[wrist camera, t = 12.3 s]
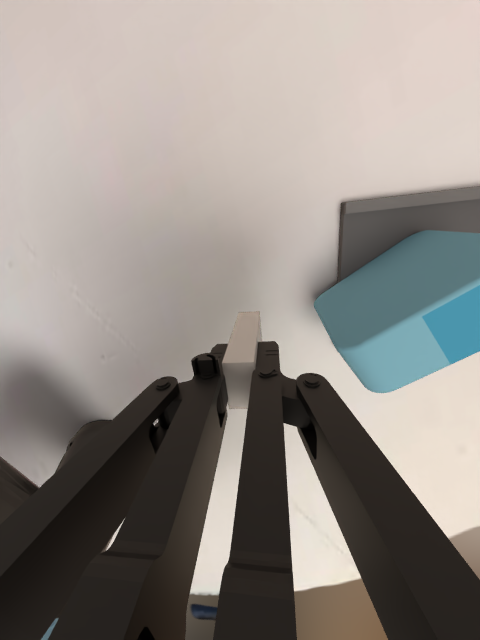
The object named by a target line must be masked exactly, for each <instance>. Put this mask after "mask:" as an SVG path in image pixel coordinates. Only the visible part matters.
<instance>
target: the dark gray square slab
mask: <svg viewBox="0 0 480 640" xmlns="http://www.w3.org/2000/svg"><path fill="white" fill-rule="evenodd" d="M425 230H435V231H451V232H466V233H480V186H478V187H469V188H461V189H453V190H444V191H436V192H427V193H419V194H411V195H402V196H394V197H385V198H377V199H369V200H360V201H352V202H345V203H341V215H340V236H339V257H338V277H337V283H339V282H340V281H342V280H343V279H345V278H346V277H348V276H349V275H351V274H352V273H354V272H355V271H357V270H358V269H360V268H361V267H363V266H365V265H366V264H368V263H369V262H371V261H372V260H374V259H375V258H377V257H378V256H380V255H381V254H383V253H384V252H386V251H387V250H389V249H390V248H392V247H393V246H395V245H396V244H398V243H399V242H401V241H402V240H404V239H405V238H407V237H409V236H411V235H413V234H415V233H418V232H421V231H425Z"/></svg>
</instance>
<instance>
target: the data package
mask: <svg viewBox="0 0 480 640" xmlns="http://www.w3.org/2000/svg"><path fill="white" fill-rule="evenodd" d="M314 307H315V309H316V311H317V313H318V315H319V317H320V319H321V321H322V323H323V325H324V327H325V329H326V331H327V333H328V334H329V336H330V338H331V340H332V342H333V344H334V346H335V348H336V349H337V351H338V352H339V353H340V355H341V356H342V357H343V359H344V360H345V361H346V363H347V364H348V365H349V367H350V368H351V369H352V371H353V372H354V373H355V375H356V376H357V377H358V379H359V380H360V381H361V383H362V384H363V385H364V387H365V388H367V389H368V390H370V391H372V392H376V393H387V392H391V391H394V390H397V389H399V388H401V387H403V386H405V385H407V384H410V383H412V382H414V381H416V380H418V379H420V378H423V377H425V376H427V375H429V374H431V373H433V372H436V371H438V370H440V369H442V368H444V367H446V366H449V365H451V364H453V363H455V362H457V361H459V360H462V359H464V358H466V357H468V356H470V355H472V354H475V353H477V352H479V351H480V233H466V232H451V231H435V230H425V231H421V232H418V233H415V234H413V235H411V236H409V237H407V238H405V239H404V240H402V241H401V242H399V243H398V244H396V245H395V246H393V247H392V248H390V249H389V250H387V251H386V252H384V253H383V254H381V255H380V256H378V257H377V258H375V259H374V260H372V261H371V262H369V263H368V264H366V265H365V266H363V267H361V268H360V269H358V270H357V271H355V272H354V273H352V274H351V275H349V276H348V277H346V278H345V279H343V280H342V281H340V282H339V283H337V284H336V285H334V286H333V287H331V288H330V289H328V290H327V291H325V292H324V293H322V294H321V295H320V296H319V297H318V298H317V299H316V301H315V302H314Z"/></svg>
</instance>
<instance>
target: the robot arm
mask: <svg viewBox="0 0 480 640" xmlns="http://www.w3.org/2000/svg"><path fill="white" fill-rule="evenodd" d="M191 362H192V367H193V371H194V377H193V379H192V380H190V381H187V382H182V383H178V381H177V379H176V378H174V377H162V378H160V379H157V380H156V381H154V382H153V383H152V384H150V385H149V386H148V387H147V388H146V389H145V390H144V391H143V392H142V393H141V394H140V395H139V396H138V397H137V398H135V399H134V400H133V401H132V402H131V403H130V404H129V405H128V406H127V407H126V408H125V409H124V410H123V411H122V412H120V413H119V414H118V415H117V416H116V417H115V418H114V419H113V420H112V421H94V422H91V423H88V424H86V425H85V426H83V427H82V428H81V429H80V430H79V431H78V432H77V434H76V435H75V436H74V437H73V438H72V439H71V441H70V442H69V444H68V447H67V450H66V453H65V454H64V456H63V458H62V460H61V462H60V464H59V466H58V468H57V470H56V472H55V474H54V475H53V476H52V477H51V478H50V479H49V480H47V481H46V482H45V483H44V484H43V485H42V486H41V487H40V488H39V487H38V486H37V485H36V484H34V483H33V482H32V481H30V480H29V479H28V478H27V477H25V476H24V475H23V474H22V473H20V472H19V471H18V470H17V469H15V468H14V467H13V466H12V465H10V464H9V463H8V462H7V461H5V460H4V459H3V458H2V457H0V640H185V634H186V610H187V603H188V598H189V593H190V589H191V584H192V579H193V575H194V570H195V565H196V561H197V556H198V551H199V547H200V542H201V537H202V533H203V528H204V523H205V519H206V514H207V509H208V505H209V500H210V495H211V490H212V486H213V481H214V476H215V472H216V467H217V462H218V458H219V453H220V448H221V444H222V439H223V434H224V430H225V425H226V420H227V409H226V406H227V402H228V405H229V409H248V411H247V419H246V428H245V436H244V444H243V452H242V460H241V469H240V477H239V485H238V493H237V501H236V510H235V518H234V526H233V534H232V542H231V550H230V557H229V561H228V563H227V565H226V566H225V568H224V572H223V576H222V581H221V587H220V594H219V601H218V608H217V615H216V623H215V630H214V637H213V640H297V637H296V618H295V602H294V586H293V572H292V558H291V541H290V525H289V508H288V492H287V475H286V459H285V442H284V426H283V423H286V424H289V425H293V426H296V427H297V429H298V432H299V435H300V437H301V439H302V442H303V444H304V446H305V448H306V451H307V453H308V455H309V458H310V460H311V462H312V465H313V467H314V469H315V472H316V474H317V476H318V478H319V481H320V483H321V485H322V488H323V490H324V492H325V495H326V497H327V499H328V502H329V504H330V506H331V508H332V511H333V513H334V515H335V518H336V520H337V522H338V525H339V527H340V529H341V532H342V534H343V536H344V539H345V541H346V543H347V545H348V548H349V550H350V552H351V555H352V557H353V559H354V562H355V564H356V566H357V569H358V571H359V573H360V575H361V578H362V580H363V582H364V585H365V587H366V589H367V592H368V594H369V596H370V599H371V601H372V603H373V605H374V608H375V610H376V612H377V615H378V617H379V619H380V622H381V624H382V626H383V628H384V631H385V633H386V635H387V638H388V640H480V580H479V578H478V577H477V576H476V574H475V573H474V572H473V571H472V569H471V568H470V567H469V565H468V564H467V563H466V561H465V560H464V559H463V557H462V556H461V555H460V554H459V552H458V551H457V550H456V548H455V547H454V546H453V544H452V543H451V542H450V540H449V539H448V538H447V536H446V535H445V534H444V533H443V531H442V530H441V529H440V527H439V526H438V525H437V523H436V522H435V521H434V519H433V518H432V517H431V516H430V514H429V513H428V512H427V510H426V509H425V508H424V506H423V505H422V504H421V502H420V501H419V500H418V499H417V497H416V496H415V495H414V493H413V492H412V491H411V489H410V488H409V487H408V485H407V484H406V483H405V482H404V480H403V479H402V478H401V476H400V475H399V474H398V472H397V471H396V470H395V468H394V467H393V466H392V465H391V463H390V462H389V461H388V459H387V458H386V457H385V455H384V454H383V453H382V451H381V450H380V449H379V448H378V446H377V445H376V444H375V442H374V441H373V440H372V438H371V437H370V436H369V434H368V433H367V432H366V431H365V429H364V428H363V427H362V425H361V424H360V423H359V421H358V420H357V419H356V417H355V416H354V415H353V414H352V412H351V411H350V410H349V408H348V407H347V406H346V404H345V403H344V402H343V400H342V399H341V398H340V396H339V395H338V394H337V393H336V391H335V390H334V389H333V387H332V386H331V385H330V383H329V382H328V381H327V380H326V379H325V378H324V377H323V376H321V375H319V374H314V373H305V374H302V375H300V376H299V377H297V380H295V379H291V378H288V377H286V376H284V375H283V374H282V373H281V371H280V363H279V347H278V344H277V343H276V342H275V341H270V342H262V335H261V323H260V311H258V312H240V313H239V314H238V316H237V319H236V322H235V325H234V328H233V331H232V334H231V337H230V340H229V343H228V344H217V345H216V346H215V347H213V348H212V350H211V353H205V354H200V355H198V356H196V357H194V358H193V359H192V360H191ZM157 418H158V421H159V422H158V423H157V424H156V425H155V426H154V425H153V423H154V422H155V420H156V419H157ZM124 519H125V520H124ZM123 520H124V522H123V524H122V526H121V528H120V530H119V532H118V534H117V536H116V538H115V540H114V542H113V544H112V545H111V547H110V548H109V549H108V550H107V551H106V549H107V547H108V545H109V543H110V541H111V539H112V537H113V535H114V533H115V532H116V530H117V529H118V527H119V526H120V524H121V523H122V521H123Z"/></svg>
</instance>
